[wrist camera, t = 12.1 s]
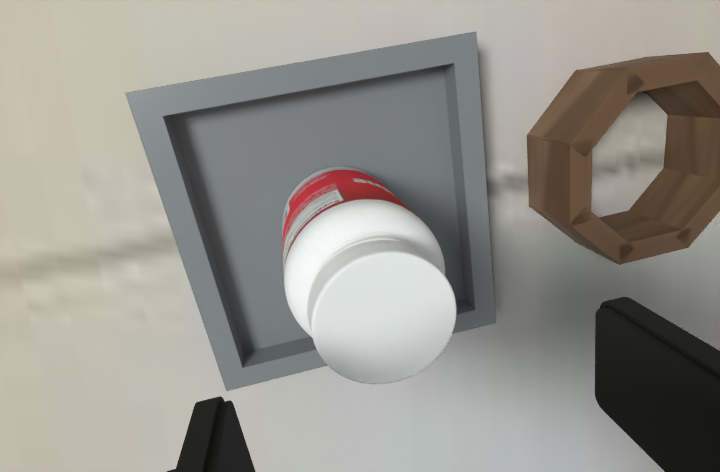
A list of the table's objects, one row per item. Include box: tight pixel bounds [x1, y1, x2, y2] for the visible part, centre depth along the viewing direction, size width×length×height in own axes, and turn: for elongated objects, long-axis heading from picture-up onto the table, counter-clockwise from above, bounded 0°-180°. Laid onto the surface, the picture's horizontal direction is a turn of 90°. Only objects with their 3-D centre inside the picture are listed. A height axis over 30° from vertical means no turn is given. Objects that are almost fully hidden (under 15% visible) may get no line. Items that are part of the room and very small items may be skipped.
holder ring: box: [527, 52, 720, 265], centre depth 25 cm, size 10×10×4 cm
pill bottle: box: [282, 167, 456, 384], centre depth 19 cm, size 6×6×11 cm
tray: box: [125, 32, 496, 391], centre depth 24 cm, size 16×16×2 cm
